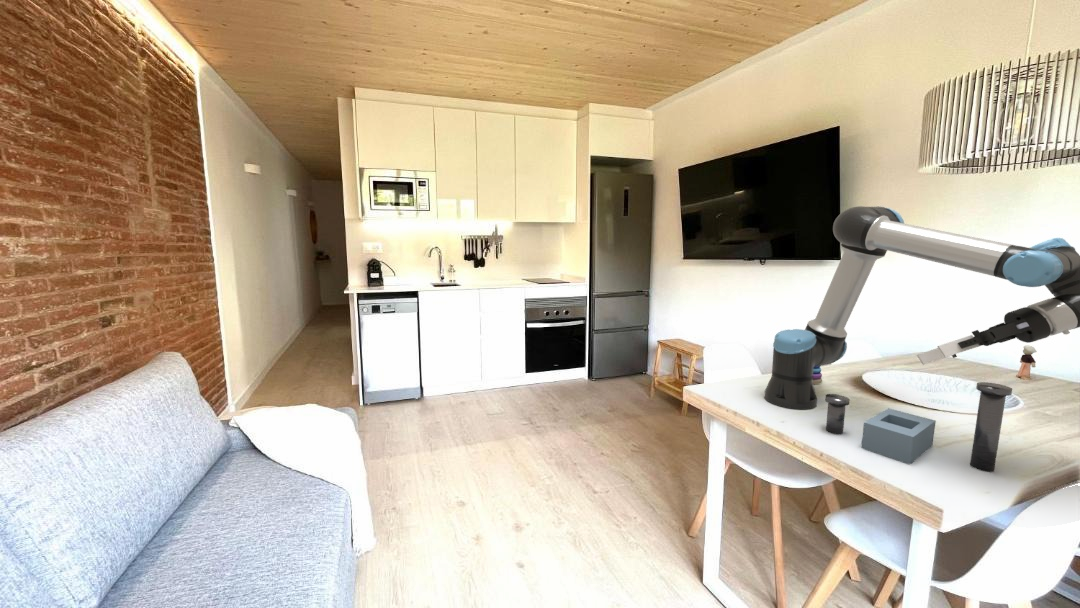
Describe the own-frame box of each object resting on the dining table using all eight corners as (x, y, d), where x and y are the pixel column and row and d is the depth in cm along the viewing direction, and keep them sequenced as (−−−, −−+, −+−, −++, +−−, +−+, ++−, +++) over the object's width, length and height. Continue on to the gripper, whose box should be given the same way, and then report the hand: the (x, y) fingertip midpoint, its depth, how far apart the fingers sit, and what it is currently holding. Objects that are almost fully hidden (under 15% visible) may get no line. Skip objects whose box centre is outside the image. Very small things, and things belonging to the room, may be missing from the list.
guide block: (885, 431, 120) (888, 408, 119) (932, 445, 112) (935, 420, 111) (861, 447, 111) (863, 422, 110) (909, 464, 103) (913, 437, 102)
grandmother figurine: (1009, 374, 166) (1014, 342, 164) (1021, 375, 165) (1026, 343, 163) (1027, 381, 158) (1032, 348, 156) (1039, 382, 157) (1045, 348, 155)
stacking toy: (812, 377, 166) (816, 330, 163) (826, 384, 158) (831, 335, 155) (792, 378, 166) (796, 330, 163) (805, 385, 158) (810, 335, 155)
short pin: (819, 426, 124) (821, 393, 123) (840, 427, 123) (843, 394, 121) (827, 435, 119) (830, 400, 117) (850, 436, 118) (853, 402, 116)
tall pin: (959, 460, 105) (970, 381, 102) (986, 462, 103) (998, 382, 100) (977, 472, 99) (989, 389, 96) (1006, 474, 98) (1019, 391, 95)
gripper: (1088, 325, 84) (963, 363, 91) (1018, 345, 106) (921, 375, 113) (1060, 291, 87) (940, 331, 94) (997, 318, 109) (904, 349, 115)
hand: (930, 355), depth 103 cm, fingers open, 13 cm apart
